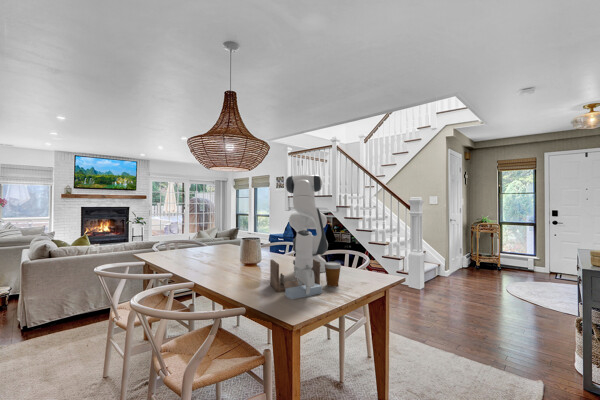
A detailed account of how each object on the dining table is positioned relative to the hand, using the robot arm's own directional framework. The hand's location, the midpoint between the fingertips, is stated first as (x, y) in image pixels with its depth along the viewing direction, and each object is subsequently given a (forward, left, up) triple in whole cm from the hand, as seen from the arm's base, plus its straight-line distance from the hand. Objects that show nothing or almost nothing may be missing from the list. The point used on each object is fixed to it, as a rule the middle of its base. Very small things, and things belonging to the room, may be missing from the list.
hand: (303, 291), depth 147 cm
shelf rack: (0, -15, -2) cm, 15 cm away
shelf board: (0, 0, -2) cm, 2 cm away
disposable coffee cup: (-21, -11, -2) cm, 24 cm away
